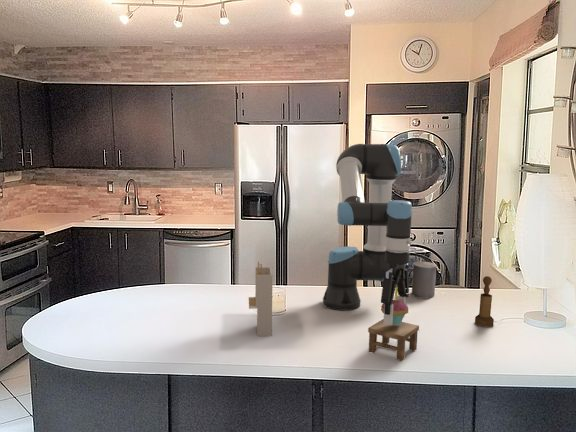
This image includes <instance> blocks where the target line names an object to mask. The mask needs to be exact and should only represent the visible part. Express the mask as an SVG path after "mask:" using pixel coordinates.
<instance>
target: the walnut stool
mask: <svg viewBox="0 0 576 432" xmlns="http://www.w3.org/2000/svg"><path fill="white" fill-rule="evenodd" d="M418 331H420V325H418V324H415V323H414V324H413V323H409V322H404V321H402V322H401V324H398V325H393V324H392V325H389V324H385V323H384V318H382V319H380V320H378V321H377V322H376V323H374V324H372V325H371V326H369V327H368V328H367V333H369V334H368V353H370V354H371V353H372V354H374V353H376V352H377V347H380V348H383V349H388V350H391V351H395V352H396V360H397V361H403V360H405V354H406V353H405V352H406V342H407V343H408V342H409V345H408V350H409V351H413V352H416V350H417V349H418V347H417V346H418ZM378 336H381V337H382V338H381V342H380V341H377V340H378ZM390 339H393V340H397V341H396V345H392V344H389V343H390Z"/></svg>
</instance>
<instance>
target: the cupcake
mask: <svg viewBox="0 0 576 432" xmlns="http://www.w3.org/2000/svg"><path fill="white" fill-rule="evenodd" d="M397 296H398V287H397V285H396V288H395V293H394V299H393V301H392V304H393V325H398V324H401V322H403V320H404V317H405V316H404V315H407V314H409V307H408V305H407V304H406V302H405V303H404V302H401V301H398V300H397ZM380 307H381V309H380V310H381V312H382V313H383V314H384V303H381V306H380Z"/></svg>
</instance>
